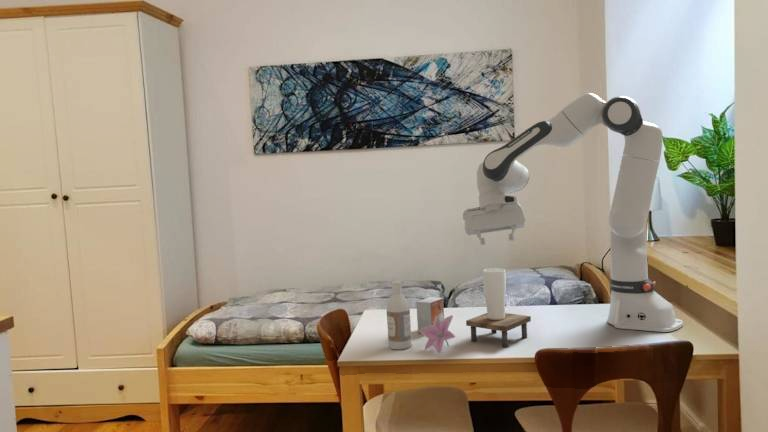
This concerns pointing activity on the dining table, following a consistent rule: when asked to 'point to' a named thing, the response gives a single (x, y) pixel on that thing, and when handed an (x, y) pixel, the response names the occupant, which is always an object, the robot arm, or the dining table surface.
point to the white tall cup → (495, 292)
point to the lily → (438, 333)
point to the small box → (429, 311)
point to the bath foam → (398, 319)
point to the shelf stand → (499, 325)
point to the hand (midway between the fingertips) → (497, 242)
